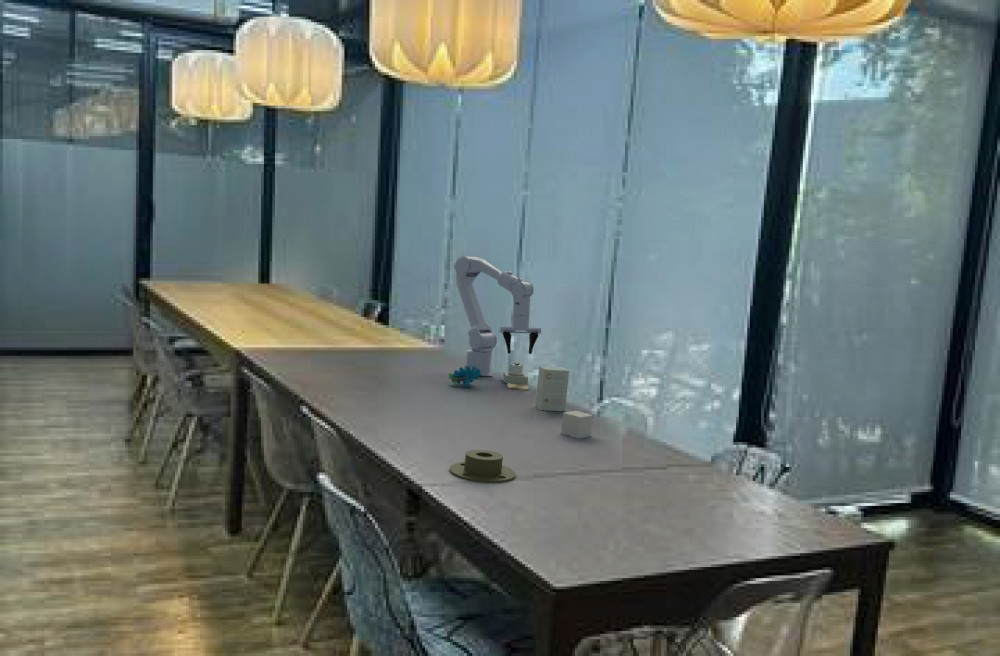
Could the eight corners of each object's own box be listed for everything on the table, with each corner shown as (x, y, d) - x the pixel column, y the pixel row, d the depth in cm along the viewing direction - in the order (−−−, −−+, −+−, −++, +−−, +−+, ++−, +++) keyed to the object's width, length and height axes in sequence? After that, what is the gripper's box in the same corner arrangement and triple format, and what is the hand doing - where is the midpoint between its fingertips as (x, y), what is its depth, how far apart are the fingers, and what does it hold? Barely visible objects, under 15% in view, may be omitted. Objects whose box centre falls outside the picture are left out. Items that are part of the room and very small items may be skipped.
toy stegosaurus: (478, 379, 314) (481, 363, 306) (481, 393, 311) (485, 377, 303) (446, 382, 312) (449, 365, 304) (449, 396, 308) (452, 380, 300)
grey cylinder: (509, 383, 322) (511, 363, 321) (508, 381, 326) (510, 361, 326) (521, 384, 322) (523, 364, 322) (520, 382, 327) (522, 362, 326)
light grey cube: (578, 438, 249) (580, 417, 248) (560, 433, 253) (563, 412, 252) (590, 436, 254) (593, 415, 253) (573, 431, 257) (575, 410, 257)
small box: (558, 407, 289) (563, 366, 287) (565, 411, 283) (569, 370, 281) (534, 406, 287) (538, 365, 285) (540, 410, 280) (544, 369, 279)
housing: (504, 383, 320) (505, 375, 320) (502, 379, 328) (503, 371, 328) (527, 385, 321) (528, 377, 320) (524, 381, 329) (525, 373, 328)
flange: (480, 442, 216) (437, 451, 204) (530, 458, 207) (488, 467, 195) (478, 461, 217) (435, 471, 205) (528, 477, 207) (486, 489, 196)
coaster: (508, 388, 311) (508, 387, 311) (506, 384, 318) (506, 383, 318) (528, 390, 312) (528, 388, 312) (526, 386, 319) (526, 384, 319)
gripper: (502, 315, 317) (501, 354, 318) (543, 316, 320) (541, 355, 321) (499, 314, 324) (498, 352, 325) (539, 315, 326) (537, 353, 328)
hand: (519, 353), depth 323 cm, fingers open, 7 cm apart
